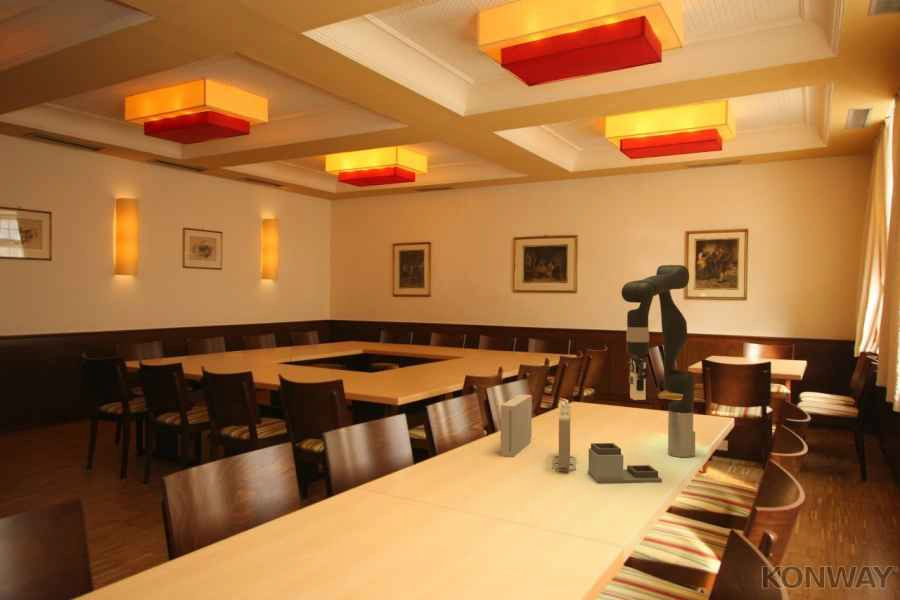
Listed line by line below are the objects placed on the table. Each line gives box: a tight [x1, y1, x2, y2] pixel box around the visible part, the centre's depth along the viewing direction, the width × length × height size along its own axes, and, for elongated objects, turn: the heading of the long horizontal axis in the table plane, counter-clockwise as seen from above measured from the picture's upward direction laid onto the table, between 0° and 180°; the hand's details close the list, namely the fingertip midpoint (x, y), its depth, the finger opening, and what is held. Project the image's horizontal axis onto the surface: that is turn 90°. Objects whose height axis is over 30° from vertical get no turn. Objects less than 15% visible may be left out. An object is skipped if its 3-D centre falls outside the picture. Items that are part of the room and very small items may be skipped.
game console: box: [500, 393, 533, 458], centre depth 254 cm, size 6×27×20 cm, turn 158°
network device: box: [550, 404, 577, 472], centre depth 232 cm, size 26×9×20 cm, turn 168°
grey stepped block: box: [587, 442, 663, 484], centre depth 215 cm, size 22×12×11 cm, turn 94°
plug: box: [628, 372, 647, 401], centre depth 215 cm, size 5×4×9 cm
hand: (637, 389), depth 215 cm, fingers closed on plug, 4 cm apart
